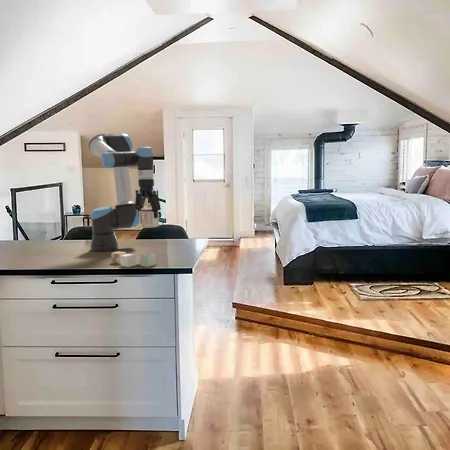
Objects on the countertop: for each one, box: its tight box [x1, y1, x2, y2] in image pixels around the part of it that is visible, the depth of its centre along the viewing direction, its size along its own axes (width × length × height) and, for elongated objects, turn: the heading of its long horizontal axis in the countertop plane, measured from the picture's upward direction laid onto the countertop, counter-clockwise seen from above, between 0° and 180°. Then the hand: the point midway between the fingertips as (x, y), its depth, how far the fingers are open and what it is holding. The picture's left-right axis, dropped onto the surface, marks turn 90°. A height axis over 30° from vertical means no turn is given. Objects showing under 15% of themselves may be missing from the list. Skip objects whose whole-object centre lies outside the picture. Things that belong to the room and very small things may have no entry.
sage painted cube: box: [139, 253, 157, 268], centre depth 243 cm, size 5×5×5 cm
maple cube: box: [110, 251, 127, 265], centre depth 251 cm, size 5×5×5 cm
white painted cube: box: [120, 253, 137, 268], centre depth 244 cm, size 5×5×5 cm
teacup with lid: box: [141, 202, 160, 229], centre depth 256 cm, size 12×9×12 cm
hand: (148, 224), depth 257 cm, fingers closed on teacup with lid, 8 cm apart
